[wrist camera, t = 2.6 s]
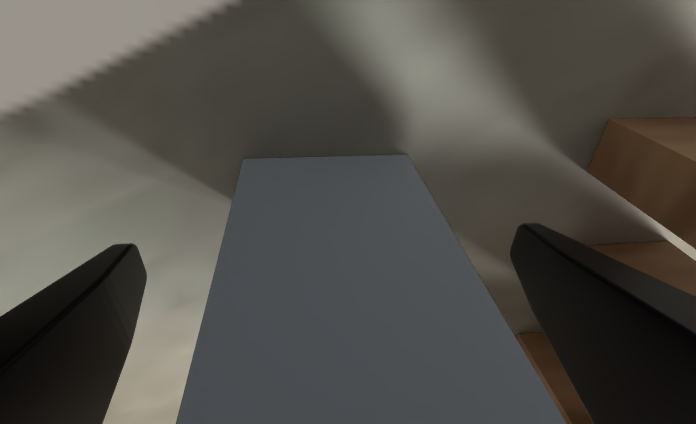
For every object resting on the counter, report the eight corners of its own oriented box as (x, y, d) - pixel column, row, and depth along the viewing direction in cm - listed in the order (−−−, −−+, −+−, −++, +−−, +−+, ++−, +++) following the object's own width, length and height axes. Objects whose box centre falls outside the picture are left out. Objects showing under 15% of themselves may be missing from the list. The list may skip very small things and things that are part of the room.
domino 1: (400, 204, 12) (527, 490, 6) (250, 211, 12) (194, 536, 5) (406, 154, 11) (570, 429, 5) (243, 158, 11) (161, 479, 4)
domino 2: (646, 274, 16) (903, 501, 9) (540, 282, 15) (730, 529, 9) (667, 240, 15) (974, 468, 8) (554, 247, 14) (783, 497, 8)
